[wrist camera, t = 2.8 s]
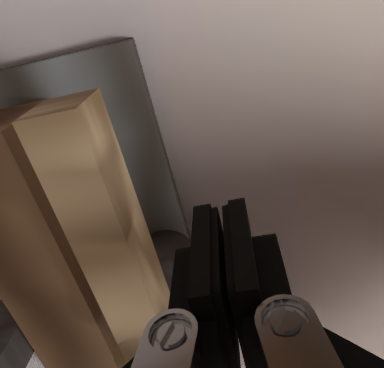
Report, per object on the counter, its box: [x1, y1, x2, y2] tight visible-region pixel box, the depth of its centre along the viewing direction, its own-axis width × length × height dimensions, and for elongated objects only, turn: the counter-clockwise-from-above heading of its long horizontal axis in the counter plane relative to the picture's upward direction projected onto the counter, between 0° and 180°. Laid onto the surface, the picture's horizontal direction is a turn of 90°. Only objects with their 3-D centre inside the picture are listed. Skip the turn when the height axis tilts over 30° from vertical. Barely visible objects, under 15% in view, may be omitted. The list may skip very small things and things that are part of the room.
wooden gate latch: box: [0, 38, 191, 368], centre depth 24 cm, size 16×28×9 cm, turn 13°
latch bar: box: [12, 88, 170, 368], centre depth 17 cm, size 15×4×3 cm, turn 13°
